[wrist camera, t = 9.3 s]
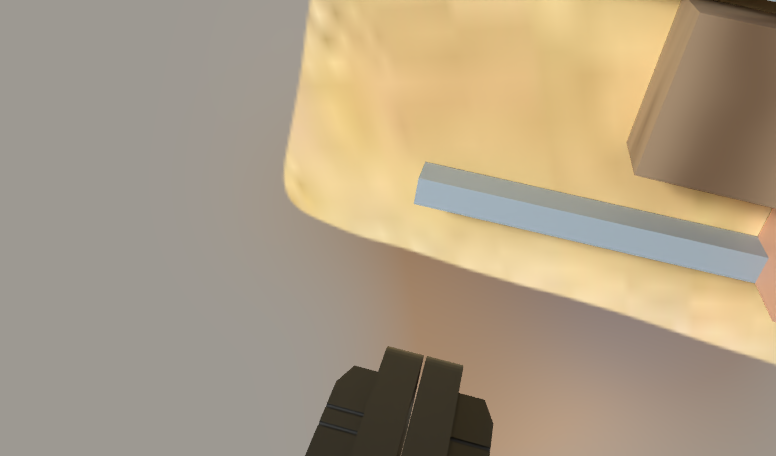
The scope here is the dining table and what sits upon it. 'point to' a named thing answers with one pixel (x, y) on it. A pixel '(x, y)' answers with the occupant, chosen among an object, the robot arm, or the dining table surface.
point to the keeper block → (712, 104)
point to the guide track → (606, 225)
